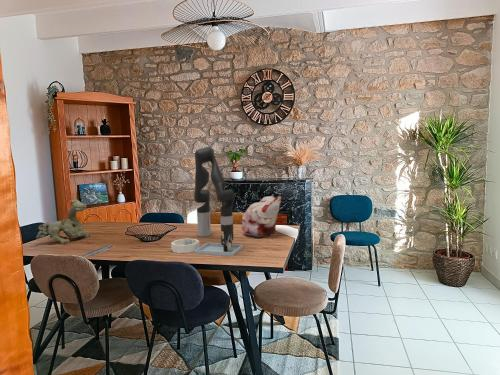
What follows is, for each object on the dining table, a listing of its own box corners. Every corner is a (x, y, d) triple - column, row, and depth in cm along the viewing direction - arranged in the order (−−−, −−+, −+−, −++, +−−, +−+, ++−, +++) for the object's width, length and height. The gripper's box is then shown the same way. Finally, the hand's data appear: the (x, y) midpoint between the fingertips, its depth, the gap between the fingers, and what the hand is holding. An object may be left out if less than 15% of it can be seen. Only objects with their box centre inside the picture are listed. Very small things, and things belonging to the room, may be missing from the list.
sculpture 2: (233, 236, 259) (233, 194, 255) (252, 227, 284) (252, 189, 280) (273, 242, 244) (275, 198, 240) (289, 233, 270) (291, 193, 266)
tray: (207, 246, 235) (207, 242, 235) (243, 248, 228) (242, 244, 227) (195, 254, 218) (194, 250, 218) (232, 257, 211) (232, 252, 210)
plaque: (82, 262, 210) (82, 261, 210) (69, 261, 213) (69, 260, 213) (118, 246, 241) (118, 246, 241) (106, 246, 244) (106, 245, 244)
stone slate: (187, 246, 232) (186, 239, 232) (193, 247, 231) (193, 239, 230) (183, 248, 228) (183, 241, 228) (190, 249, 227) (189, 241, 226)
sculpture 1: (74, 246, 242) (60, 203, 238) (41, 254, 248) (26, 211, 244) (100, 233, 270) (88, 194, 266) (70, 240, 276) (57, 202, 272)
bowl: (180, 246, 238) (180, 238, 237) (202, 247, 233) (202, 239, 232) (167, 253, 223) (167, 244, 222) (191, 254, 218) (190, 246, 217)
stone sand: (225, 249, 224) (225, 241, 223) (232, 250, 222) (232, 242, 222) (223, 251, 220) (222, 243, 219) (230, 252, 218) (229, 244, 218)
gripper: (225, 220, 227) (226, 246, 229) (216, 225, 213) (217, 252, 215) (236, 220, 225) (237, 247, 226) (228, 225, 211) (229, 253, 213)
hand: (227, 249), depth 221 cm, fingers open, 7 cm apart
